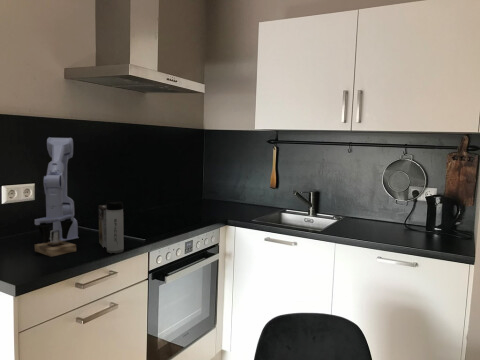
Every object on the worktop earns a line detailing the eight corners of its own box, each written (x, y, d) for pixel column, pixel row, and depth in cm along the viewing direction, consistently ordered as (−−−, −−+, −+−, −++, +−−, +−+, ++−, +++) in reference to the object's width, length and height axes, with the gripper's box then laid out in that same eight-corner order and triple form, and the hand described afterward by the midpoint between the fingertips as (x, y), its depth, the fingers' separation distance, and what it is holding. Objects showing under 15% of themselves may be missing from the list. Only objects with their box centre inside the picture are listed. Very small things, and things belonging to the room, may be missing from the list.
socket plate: (59, 246, 162) (59, 240, 161) (76, 251, 154) (76, 244, 154) (34, 251, 153) (34, 244, 153) (51, 256, 146) (51, 250, 146)
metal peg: (56, 249, 156) (56, 229, 156) (61, 250, 155) (61, 230, 154) (49, 251, 154) (48, 231, 153) (54, 252, 152) (53, 232, 151)
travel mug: (112, 248, 159) (111, 199, 157) (126, 250, 157) (126, 200, 155) (102, 252, 153) (101, 201, 151) (117, 254, 151) (116, 202, 149)
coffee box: (98, 242, 168) (97, 205, 166) (114, 241, 171) (113, 204, 169) (102, 248, 160) (102, 208, 158) (119, 246, 163) (118, 207, 161)
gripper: (40, 209, 144) (42, 245, 145) (77, 204, 156) (78, 238, 157) (31, 207, 148) (32, 242, 150) (67, 202, 160) (68, 235, 161)
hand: (55, 240), depth 154 cm, fingers open, 7 cm apart
